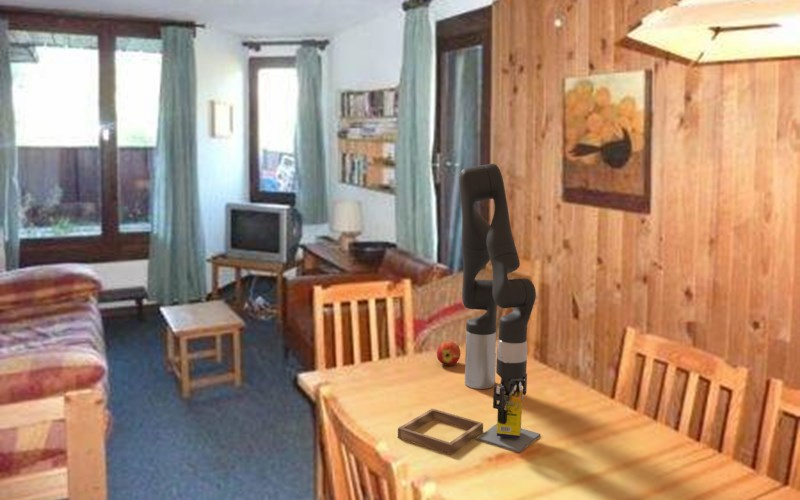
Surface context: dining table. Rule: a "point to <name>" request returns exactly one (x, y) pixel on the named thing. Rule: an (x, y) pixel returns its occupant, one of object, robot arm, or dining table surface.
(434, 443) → the frame
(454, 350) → the apple
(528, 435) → the mat
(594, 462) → the dining table surface
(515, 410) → the supplement box
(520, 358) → the robot arm
